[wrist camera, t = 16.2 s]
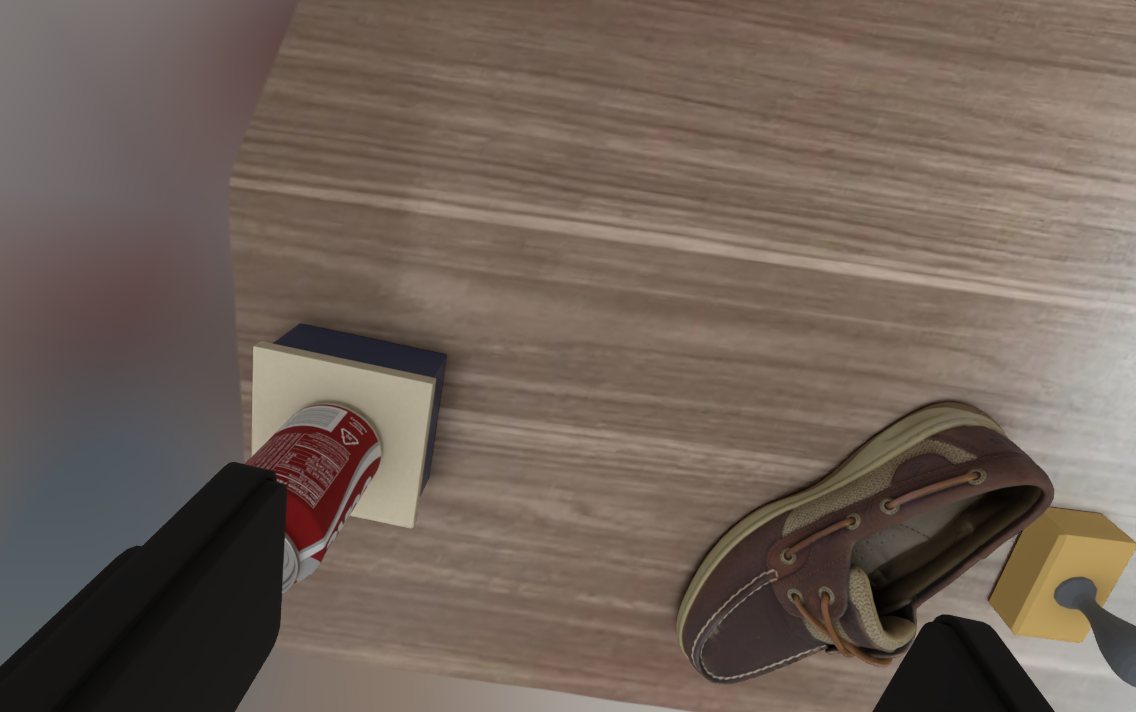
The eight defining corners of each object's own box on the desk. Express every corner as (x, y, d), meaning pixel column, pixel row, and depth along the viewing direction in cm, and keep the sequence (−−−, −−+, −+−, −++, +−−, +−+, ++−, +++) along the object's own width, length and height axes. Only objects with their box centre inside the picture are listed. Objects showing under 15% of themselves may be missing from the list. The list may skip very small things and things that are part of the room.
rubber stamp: (1031, 504, 49) (1156, 621, 38) (1105, 513, 49) (1251, 634, 38) (985, 601, 53) (1086, 734, 42) (1053, 610, 53) (1172, 745, 42)
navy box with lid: (289, 452, 51) (250, 495, 46) (294, 316, 47) (252, 345, 41) (433, 482, 51) (412, 528, 46) (453, 350, 47) (432, 384, 41)
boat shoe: (720, 661, 57) (745, 782, 47) (637, 592, 55) (644, 704, 44) (1028, 462, 48) (1142, 560, 38) (945, 368, 45) (1043, 444, 35)
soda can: (288, 390, 42) (175, 493, 31) (387, 407, 42) (310, 516, 31) (289, 474, 45) (184, 598, 34) (382, 490, 45) (309, 619, 34)
